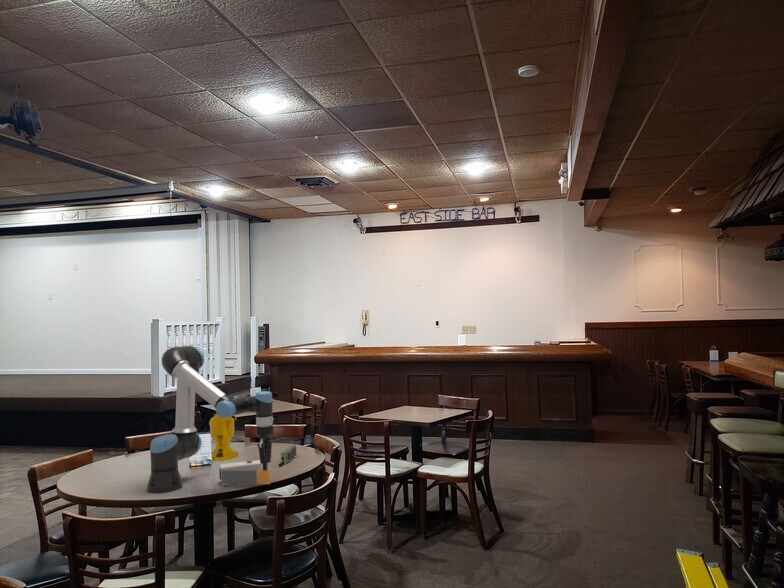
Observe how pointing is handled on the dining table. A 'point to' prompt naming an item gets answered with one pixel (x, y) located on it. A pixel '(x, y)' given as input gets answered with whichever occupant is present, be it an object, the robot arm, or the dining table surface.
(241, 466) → the camera housing
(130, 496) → the dining table surface
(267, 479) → the side door
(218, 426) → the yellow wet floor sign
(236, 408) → the robot arm
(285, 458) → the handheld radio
